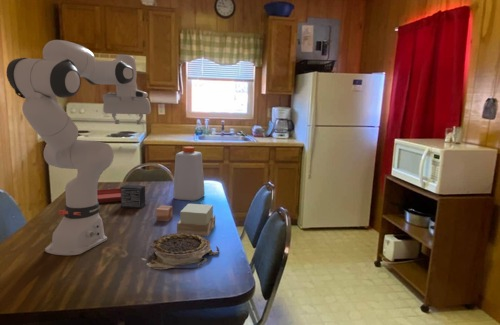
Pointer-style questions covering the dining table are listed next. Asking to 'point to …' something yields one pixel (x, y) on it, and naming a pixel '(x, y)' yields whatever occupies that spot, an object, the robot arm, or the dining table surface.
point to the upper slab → (196, 214)
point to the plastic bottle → (188, 175)
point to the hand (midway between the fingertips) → (128, 124)
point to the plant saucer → (109, 195)
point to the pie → (180, 250)
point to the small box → (132, 196)
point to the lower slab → (196, 227)
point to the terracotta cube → (164, 213)
